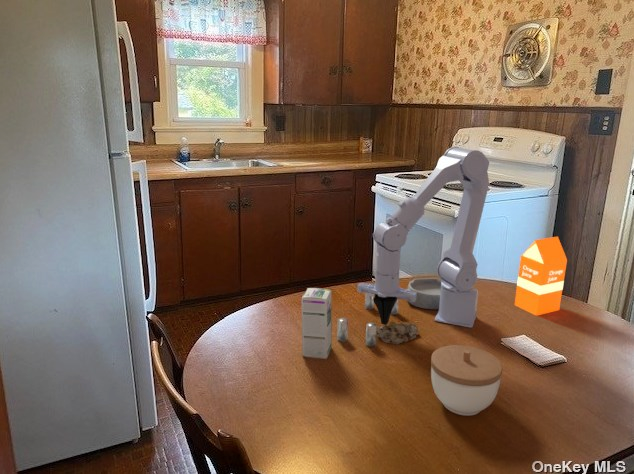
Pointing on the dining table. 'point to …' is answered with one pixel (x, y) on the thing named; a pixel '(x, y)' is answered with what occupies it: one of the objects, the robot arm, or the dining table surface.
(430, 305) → the dish
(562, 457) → the dining table surface
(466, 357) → the lidded bowl
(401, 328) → the mineral rock
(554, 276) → the orange juice
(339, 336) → the spacer posts
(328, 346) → the syrup box
